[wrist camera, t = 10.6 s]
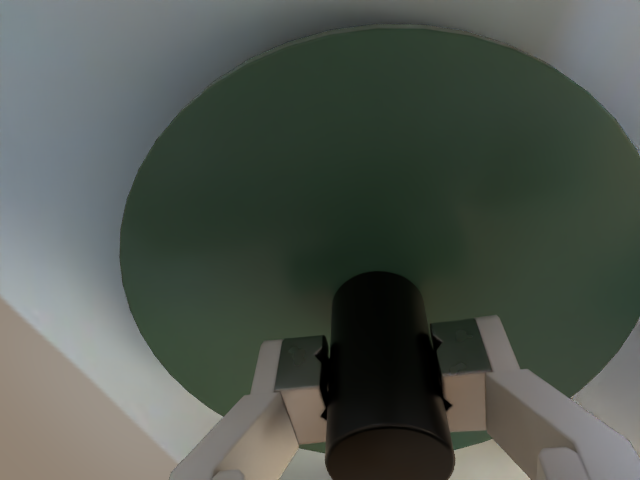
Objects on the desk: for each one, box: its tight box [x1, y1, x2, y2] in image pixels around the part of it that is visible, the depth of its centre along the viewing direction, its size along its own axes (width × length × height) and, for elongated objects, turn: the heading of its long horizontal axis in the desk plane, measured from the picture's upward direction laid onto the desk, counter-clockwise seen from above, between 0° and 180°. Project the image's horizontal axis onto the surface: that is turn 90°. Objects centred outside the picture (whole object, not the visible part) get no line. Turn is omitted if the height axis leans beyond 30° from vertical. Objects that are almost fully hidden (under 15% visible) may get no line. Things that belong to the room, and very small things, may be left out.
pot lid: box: [120, 24, 640, 480], centre depth 11 cm, size 14×14×6 cm
